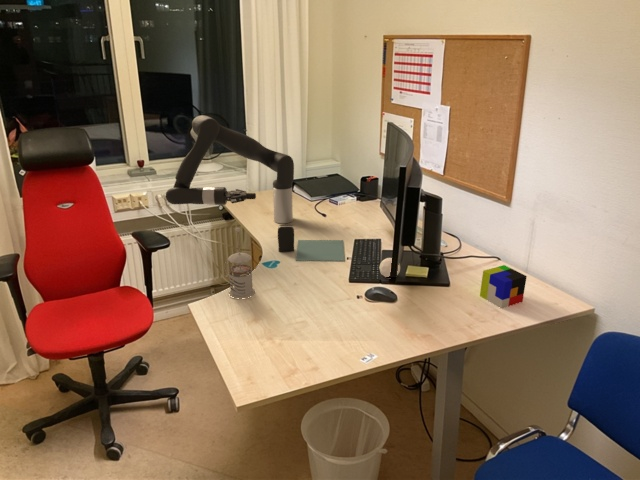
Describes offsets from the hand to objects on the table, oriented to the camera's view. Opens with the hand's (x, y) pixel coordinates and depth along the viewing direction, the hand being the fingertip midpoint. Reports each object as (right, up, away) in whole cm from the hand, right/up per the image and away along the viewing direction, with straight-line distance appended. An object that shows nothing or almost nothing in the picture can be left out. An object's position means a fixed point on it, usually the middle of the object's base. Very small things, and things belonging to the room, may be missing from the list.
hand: (255, 196), depth 216 cm
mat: (+27, -23, +2) cm, 36 cm away
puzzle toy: (+91, -39, -38) cm, 106 cm away
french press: (-1, -38, -33) cm, 50 cm away
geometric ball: (+54, -33, -22) cm, 67 cm away
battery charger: (+13, -23, +2) cm, 27 cm away
